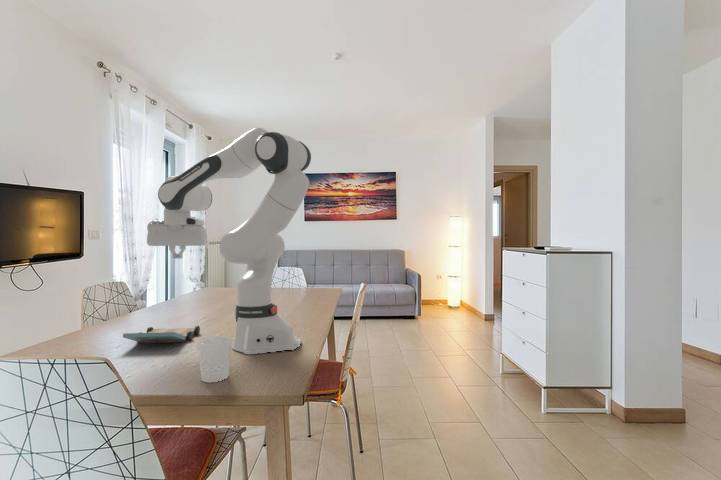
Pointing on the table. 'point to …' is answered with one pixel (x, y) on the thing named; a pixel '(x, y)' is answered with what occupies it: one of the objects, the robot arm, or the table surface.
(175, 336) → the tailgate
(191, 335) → the cart bed
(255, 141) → the robot arm
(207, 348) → the white cup
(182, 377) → the table surface
